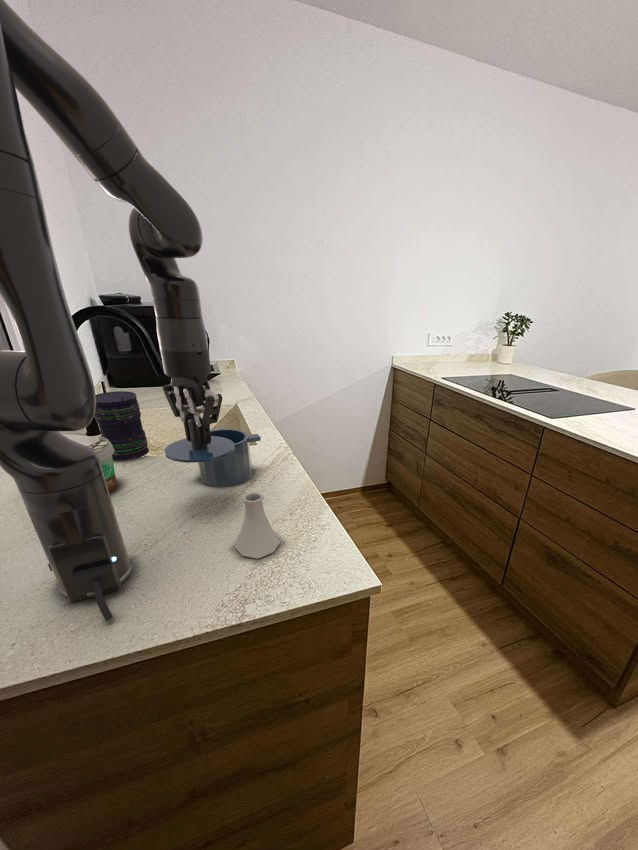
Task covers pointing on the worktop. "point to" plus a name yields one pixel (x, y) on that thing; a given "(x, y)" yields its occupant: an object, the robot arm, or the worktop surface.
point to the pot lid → (198, 447)
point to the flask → (256, 529)
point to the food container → (106, 461)
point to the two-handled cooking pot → (229, 460)
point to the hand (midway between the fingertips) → (199, 441)
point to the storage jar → (121, 424)
